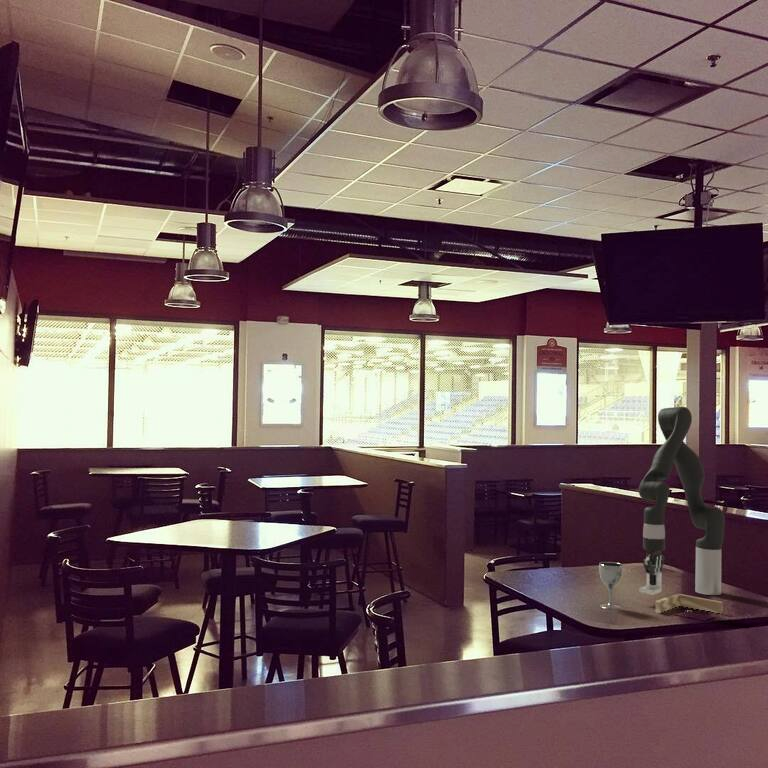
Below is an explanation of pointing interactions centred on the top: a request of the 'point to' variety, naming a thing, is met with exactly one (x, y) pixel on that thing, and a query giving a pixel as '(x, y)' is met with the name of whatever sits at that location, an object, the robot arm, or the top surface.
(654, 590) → the bracket
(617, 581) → the wine glass
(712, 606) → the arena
